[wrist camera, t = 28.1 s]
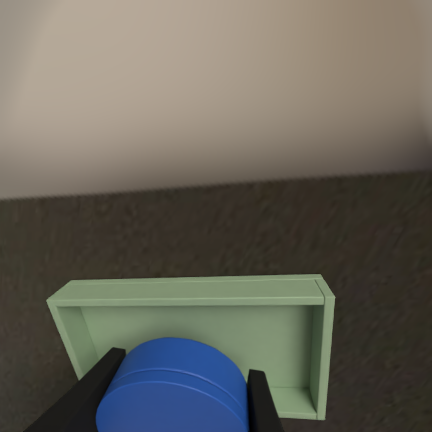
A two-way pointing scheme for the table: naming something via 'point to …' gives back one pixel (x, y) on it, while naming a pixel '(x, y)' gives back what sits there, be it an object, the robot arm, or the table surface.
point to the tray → (212, 326)
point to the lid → (175, 390)
